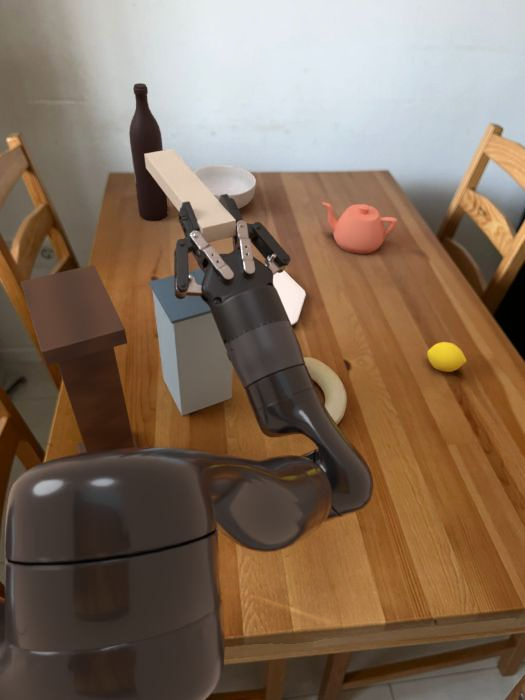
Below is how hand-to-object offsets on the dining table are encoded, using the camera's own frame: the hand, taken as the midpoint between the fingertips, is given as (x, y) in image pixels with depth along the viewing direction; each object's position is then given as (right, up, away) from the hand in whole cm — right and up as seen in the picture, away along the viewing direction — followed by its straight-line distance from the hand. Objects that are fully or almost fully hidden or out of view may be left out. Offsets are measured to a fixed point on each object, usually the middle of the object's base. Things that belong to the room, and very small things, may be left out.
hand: (203, 202), depth 58 cm
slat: (-3, +2, +5) cm, 6 cm away
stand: (-15, -35, +18) cm, 42 cm away
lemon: (+40, -20, +37) cm, 58 cm away
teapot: (+29, +9, +66) cm, 73 cm away
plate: (+3, -7, +48) cm, 48 cm away
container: (-5, -23, +30) cm, 38 cm away
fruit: (+16, -25, +30) cm, 42 cm away
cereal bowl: (-4, +21, +75) cm, 78 cm away
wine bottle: (-20, +17, +70) cm, 75 cm away
